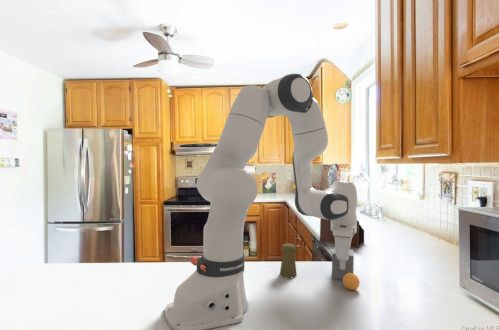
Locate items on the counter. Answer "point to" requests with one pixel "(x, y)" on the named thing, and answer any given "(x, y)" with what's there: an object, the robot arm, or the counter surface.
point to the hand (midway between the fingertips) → (342, 264)
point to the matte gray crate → (336, 270)
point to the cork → (288, 261)
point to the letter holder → (328, 237)
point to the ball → (351, 281)
